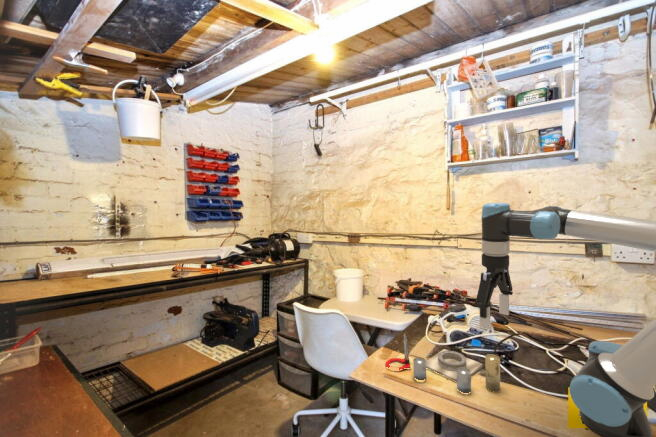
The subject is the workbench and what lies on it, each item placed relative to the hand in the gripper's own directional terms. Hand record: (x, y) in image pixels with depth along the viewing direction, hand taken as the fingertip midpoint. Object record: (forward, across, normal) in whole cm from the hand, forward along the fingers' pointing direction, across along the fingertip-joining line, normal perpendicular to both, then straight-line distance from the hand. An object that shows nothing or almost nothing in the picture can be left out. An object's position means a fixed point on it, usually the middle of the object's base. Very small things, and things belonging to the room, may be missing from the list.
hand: (494, 320), depth 100 cm
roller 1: (+27, +7, -23) cm, 36 cm away
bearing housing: (+27, -8, -19) cm, 34 cm away
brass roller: (+27, -6, -3) cm, 28 cm away
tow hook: (+28, +6, -34) cm, 44 cm away
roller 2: (+27, +2, -9) cm, 28 cm away
